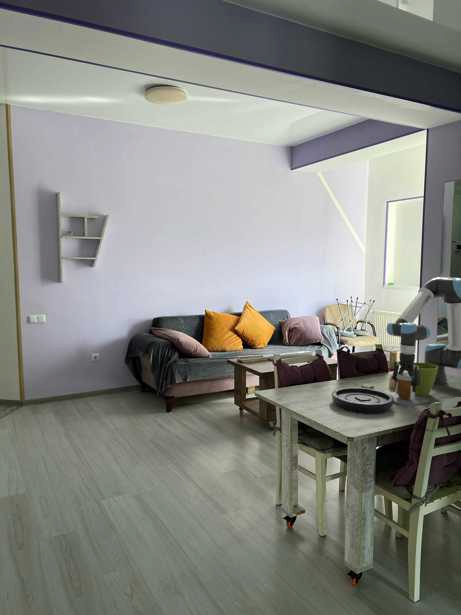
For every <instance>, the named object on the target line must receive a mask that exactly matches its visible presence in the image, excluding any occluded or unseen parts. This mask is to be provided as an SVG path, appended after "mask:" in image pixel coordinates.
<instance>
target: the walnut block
mask: <svg viewBox="0 0 461 615" xmlns="http://www.w3.org/2000/svg"><path fill="white" fill-rule="evenodd" d="M360 388H371V389H375V385H373V384H368V383H364V384H361V385H360Z"/></svg>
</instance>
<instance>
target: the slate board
mask: <svg viewBox="0 0 461 615" xmlns="http://www.w3.org/2000/svg"><path fill="white" fill-rule="evenodd" d="M391 395H392V396H393V398H394V402H393V405H397V406H401V407H404V408H412V407H415V406H419V405H422V404H425V403H426V404H427V403H429V401H430V400H429V399H426V398H423V397H418V396H416V395H415V398H410V399H403V398H400V397H399V396H398V394H396V393H395V394H391Z"/></svg>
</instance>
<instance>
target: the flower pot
mask: <svg viewBox="0 0 461 615" xmlns="http://www.w3.org/2000/svg"><path fill="white" fill-rule="evenodd" d="M414 364H415V365H416V366H420V368H419V375H420V385H418V386H416V392H415V396H416V395H417V396H422V397H427V396H429V395H430V392H431V391H432V388H433V386H434V385H435V384H434V381H435V378H436V375H437V371H438V366H436V365H433V364H428V363H424V362H414ZM413 370H414V368H413Z"/></svg>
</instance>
